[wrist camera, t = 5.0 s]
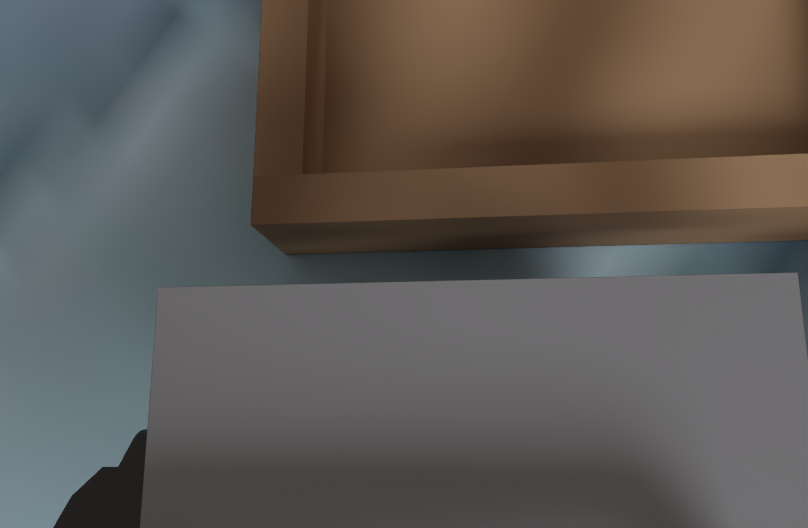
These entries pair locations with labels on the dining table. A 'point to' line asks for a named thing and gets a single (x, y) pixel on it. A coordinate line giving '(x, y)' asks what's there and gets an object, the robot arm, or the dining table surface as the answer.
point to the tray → (530, 123)
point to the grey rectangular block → (480, 404)
